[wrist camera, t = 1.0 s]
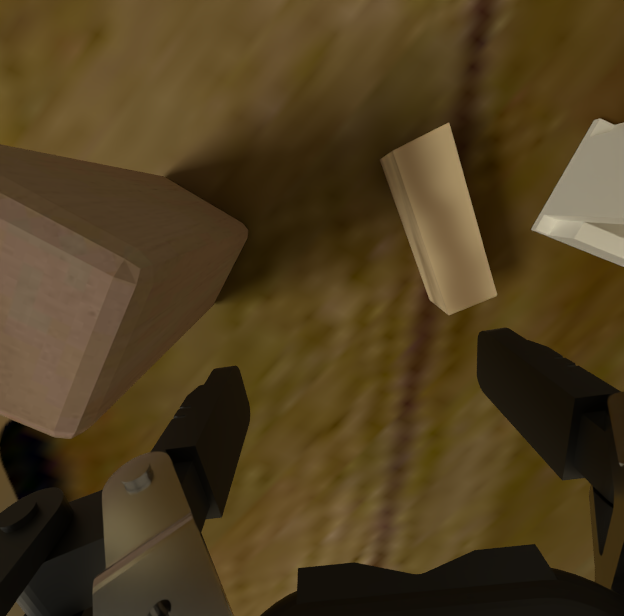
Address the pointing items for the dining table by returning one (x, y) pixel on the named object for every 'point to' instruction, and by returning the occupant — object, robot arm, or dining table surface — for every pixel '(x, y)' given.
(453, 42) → the dining table surface
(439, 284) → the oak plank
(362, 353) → the dining table surface
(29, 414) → the wooden block
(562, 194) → the peg cradle
